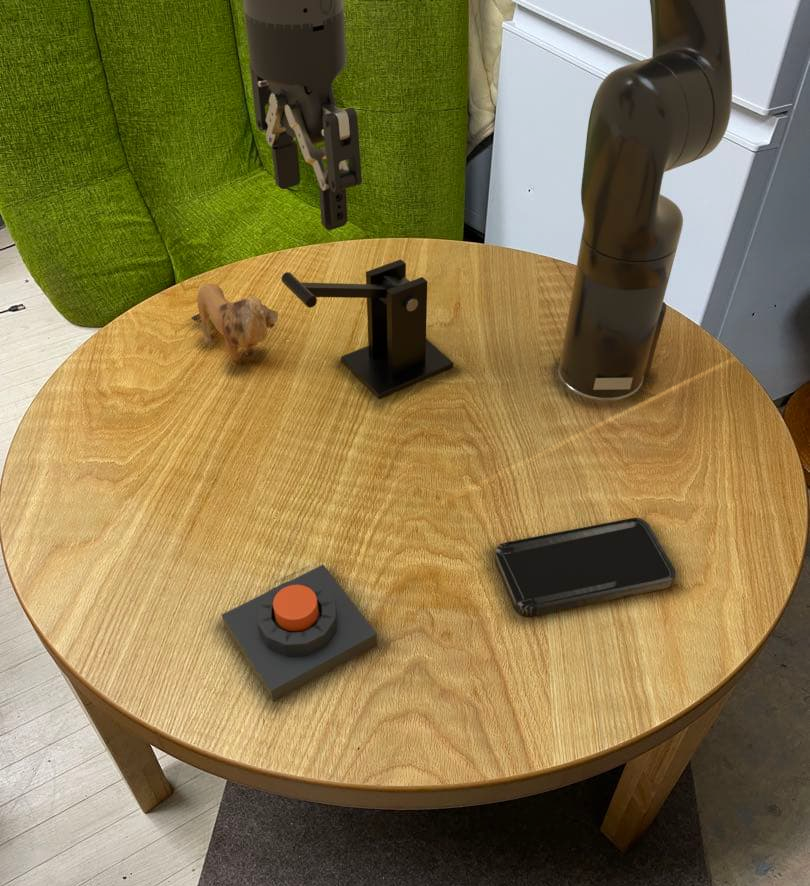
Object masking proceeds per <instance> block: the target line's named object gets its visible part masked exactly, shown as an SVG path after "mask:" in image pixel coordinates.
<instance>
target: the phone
mask: <svg viewBox="0 0 810 886" xmlns="http://www.w3.org/2000/svg"><path fill="white" fill-rule="evenodd" d="M494 562H495V564H496V567H497V570H498V572H499V575H500V577H501V579H502V582H503V583H504V586H505V589H506V592H507V594H508V596H509V599H510V601H511V604H512V606H513V609H514V610H515V612H516V613H517V614H518V615H521V616H523V617H527V618H528V617H534V616H539V615H545V614H550V613H554V612H559V611H564V610H568V609H573V608H578V607H584V606H588V605H592V604H598V603H603V602H607V601H612V600H616V599H617V600H618V599H622V598H626V597H631V596H637V595H641V594H646V593H651V592H655V591H661V590H666V589H668V588H670V587H671V586H672V585H673V583H674V581H675V577H676V573H677V572H676V569H675V567H674V565H673V564H672V562H671V560H670V558H669V556H668V555H667V553H666V551H665V550H664V548H663V547H662V545H661V543H660V541H659V540H658V537H657V536H656V534H655V532H654V531H653V529H652V528H651V525H650V524H649V523H648V521H646V520H645V519H643V518H640V517H631V518H625V519H620V520H616V521H610V522H604V523H599V524H595V525H590V526H589V525H588V526H584V527H579V528H574V529H569V530H563V531H558V532H552V533H548V534H543V535H542V534H541V535H537V536H532V537H531V536H530V537H527V538H522V539H516V540H511V541H505V542H502V543H500V544H499V545H498V546H497V547H496V549H495V554H494Z"/></svg>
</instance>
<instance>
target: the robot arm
mask: <svg viewBox="0 0 810 886" xmlns="http://www.w3.org/2000/svg"><path fill="white" fill-rule="evenodd" d="M344 4H345V3H344V0H242V5H243V12H244V20H245V29H246V35H247V43H248V52H249V68H250V77H251V78H250V79H251V88H252V97H253V108H254V117H255V124H256V127H257V129H258V131H259V132H264V131H265V139H266V142H267V144H268V145H269V147H271V153H272V162H273V163H272V164H273V171H274V172H273V173H274V179H275V184H276V186H278V187H279V188H280V189H281V190H286V189H289V188H292V187H296V186H298V185H299V184H300V183H301V171H300V169H301V168H300V159H299V150H298V146H299V148H300V151H301V153H302V156H303V159H304V161H305V162H306V163H307V164H309V165H311V166H312V168H313V171H314V175H315V176H316V180H317V183H318V185H319V186H318V194H319V195H318V197H319V198H318V199H319V209H320V210H319V211H320V221H321V226H322V227H323V228H324V229H326V230H327V231H333V230H336V229H339V228H341V227H344V226H346V225H347V223H348V219H349V218H348V204H347V203H348V200H347V189H349V188H352V187H356V186H360V185H361V184H362V182H363V179H362V163H361V149H360V136H359V124H358V123H359V121H358V114H357V112H356V109H355V107H348V108H344V109H341V108H340V107H337V102H336V99H335V95H334V90H333V89H334V88H333V83H334V82H335V79H336V78H337V77H338V75H339V74H341V73H342V72H343V70H344V69H345V67H346V64H347V50H346V49H347V48H346V29H345V27H346V26H345V8H344ZM649 5H650V7H649V8H650V16H651V34H652V54H651V57H649V58H646V59H642V60H639V61H635V62H633V63H629V64H626V65H623V66H620V67H618V68H616V69H615V70H614V69H613V71H611V72H610V73H609V74H607V76H606V77H604V79H603V80H602V82H601V83H600V85H599V87H598V89H597V91H596V92H595V96H594V98H593V101H592V104H591V108H590V112H589V117H588V122H587V123H588V124H587V131H586V140H585V148H584V149H585V150H584V159H583V168H582V175H581V176H582V177H581V187H580V202H581V210H582V214H583V215H582V216H583V226H582V232H581V237H580V244H579V249H578V256H577V262H576V267H575V272H574V273H575V274H574V278H573V279H574V280H573V286H572V291H571V297H570V303H569V309H568V313H567V321H566V326H565V331H564V338H563V343H562V344H563V345H562V348H561V354H560V360H559V362H558V367H557V375H558V378H559V380H560V382H561V384H562V385H563V386H564V387H565V388H566V389H567V390H569V392H571V393H573V394H574V395H577V396H579V397H581V398H584V399H587V400H589V401H596V402H617V401H618V402H619V401H622V400H626V399H627V398H630V397H632V396H634V395H635V394H637V392H638V391H639V390H640V389H641V387H642V385H643V382H644V378H645V377H647V376H649V374H650V371H651V367H652V364H653V360H654V356H655V353H656V349H657V345H658V342H659V339H660V338H659V337H660V334H661V331H662V327H663V323H664V319H665V317H666V316H665V315H666V313H667V304H666V302H665V301H664V299H665V296H666V292H667V287H668V285H669V281H670V276H671V272H672V268H673V265H674V261H675V257H676V254H677V250H678V245H679V242H680V239H681V235H682V231H683V226H684V217H683V212H682V210H681V209H680V207H679V206H678V205H677V204H676V203H675V202H674V201H673V200H671V198H668V197H667V196H664V195H663V194H661V189H662V182H663V179H664V174H665V173H666V172H670V171H672V170H674V169H677V168H680V167H682V166H685V165H687V164H690V163H694V162H695V161H697V160H700V159H702V158H704V157H706V156H707V155H709V154H710V153H712V152H713V151H714V150H715V149H716V148H717V147H718V146H719V144H720V143H721V142H722V141H723V139H724V136H725V134H726V132H727V130H728V126H729V123H730V120H731V119H730V118H731V113H732V103H733V78H732V77H733V75H732V64H731V51H730V41H729V38H730V37H729V27H728V17H727V7H726V6H727V5H726V0H649ZM267 104H269V106H268V109H267V113H266V106H267ZM296 141H297V142H298V143H297V142H296ZM323 142H324V146H320V147H315V145H317V144H320V143H323ZM325 159H326V166H325V163H324V161H323V160H325ZM347 162H348V165H347Z"/></svg>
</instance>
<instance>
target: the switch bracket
mask: <svg viewBox="0 0 810 886" xmlns="http://www.w3.org/2000/svg"><path fill="white" fill-rule="evenodd" d="M383 276H404V277H406V278H407V263H406V262H405V261H404V260H403V259H398V260H394V261H392V262H388V263H386V264H384V265H381V266H378V267H375V268H373V269H370V270H367V271H365V284H379V285H381V283H382V280H383ZM409 281H410V282H407V283H405V284H402V285H399V286H397V287H394V288H391V289H388V290H387V305H386V304H385V303H384V302H382V301H381V300H380V299H379V298H366V316H367V317H366V318H367V343H368V345H367V346H364V347H361V348H359V349H357V350H354V351H352V352H349V353H347V354H344V355H341V356H340V362H341V363H342V364H343V365H344V366H345V367H346V368H347V369H348V370H349V371H350V372H351V374H353V375H354V376H355V377H356V378H357V379H358V380H359V381H360V382H361V383H362V384H363V385H364V386H365V387H366V389H368V391H369V392H370V393H372V394H373V395H374V397H376V398H377V400H381V399H383V398H385V397H388V396H391V395H393V394H395V393H397V392H400V391H401V390H404V389H407V388H410V387H411V386H414V385H416V384H419V383H420V382H424V381H425V380H428V379H430V378H433V377H435V376H437V375H439V374H442V373H444V372H447V371H448V370H452V369H453V368H454V362H453V361H452V360H451V359H450V358H448V356H446V355H445V353H443V352H442V351H441V350H440V349H438V348H437V347H436V346H435V345H434V344H433V343H432V342H430V341H429V340H428V339H427V317H428V315H427V314H428V313H427V312H428V280H427V279H426V278H424V277H423V276H421V277H417V278H416V279H413V280H409Z"/></svg>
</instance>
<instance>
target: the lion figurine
mask: <svg viewBox="0 0 810 886" xmlns="http://www.w3.org/2000/svg"><path fill="white" fill-rule="evenodd" d="M197 309H198V314H195V315H193V316H191V320H193V321H194V322H197V321H201V330H202V338H203V341H204V342H205V343H209V342H211V341H212V340H213V339H212V337H211V334H210V326H209V321H210V320H211V322H212V325H213V326H214V327H215V329H216V330H217V331H218V332H219V333H220V334H221V335H223V338H224V341H225V346H226V348H227V353H228V356H229V359H230V362H231V365H233V366H238V365H240V364H241V363H242V360H241V359H240V356H239V353H238V351H239V350H238V348H241V349H243V350H245V355H246V356H255V355H256V354H257V352H256V351H255V350H254V348H253V347H256V346H257V345H258V344H259V343H263V342H264V341H265V340H266V339H267V337H268V334H269V329H274V328H275V325H276V323H277V321H278V317H279V312H278V311H277V310H275V309H274V310H273V309H271V308H269V307H267V305H265V304H263V303H262V300H261V299H260V298H258V297H256V296H252V297H245V298H242V299H240V300H236V301H234V302H233V301H232V302H230V301H229V300H228V299H226V297H225V294H224V291H223V290H222V288H221V287H220V286H219V285H217V284H210V283H204V284H203V285H202V287H201V288H200V289H199V290H198V292H197Z"/></svg>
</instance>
